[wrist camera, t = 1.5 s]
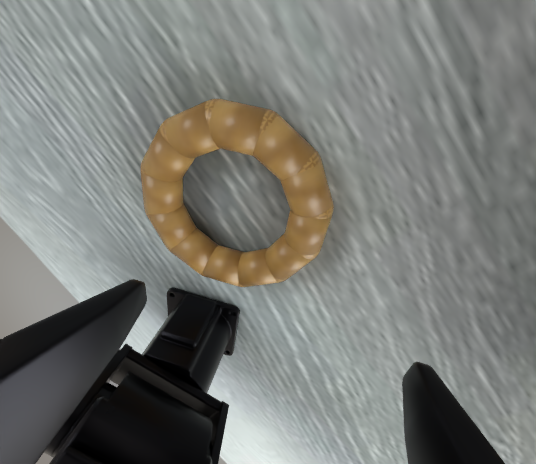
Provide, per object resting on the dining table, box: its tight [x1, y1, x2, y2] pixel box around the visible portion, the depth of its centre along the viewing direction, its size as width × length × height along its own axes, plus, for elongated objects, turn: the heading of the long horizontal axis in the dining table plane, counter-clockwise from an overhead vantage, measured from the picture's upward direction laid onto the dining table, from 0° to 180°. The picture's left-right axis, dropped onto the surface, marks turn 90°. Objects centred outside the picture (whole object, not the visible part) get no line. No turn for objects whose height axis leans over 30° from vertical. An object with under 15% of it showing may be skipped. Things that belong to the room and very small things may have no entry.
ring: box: [141, 99, 334, 287], centre depth 17 cm, size 12×12×2 cm
